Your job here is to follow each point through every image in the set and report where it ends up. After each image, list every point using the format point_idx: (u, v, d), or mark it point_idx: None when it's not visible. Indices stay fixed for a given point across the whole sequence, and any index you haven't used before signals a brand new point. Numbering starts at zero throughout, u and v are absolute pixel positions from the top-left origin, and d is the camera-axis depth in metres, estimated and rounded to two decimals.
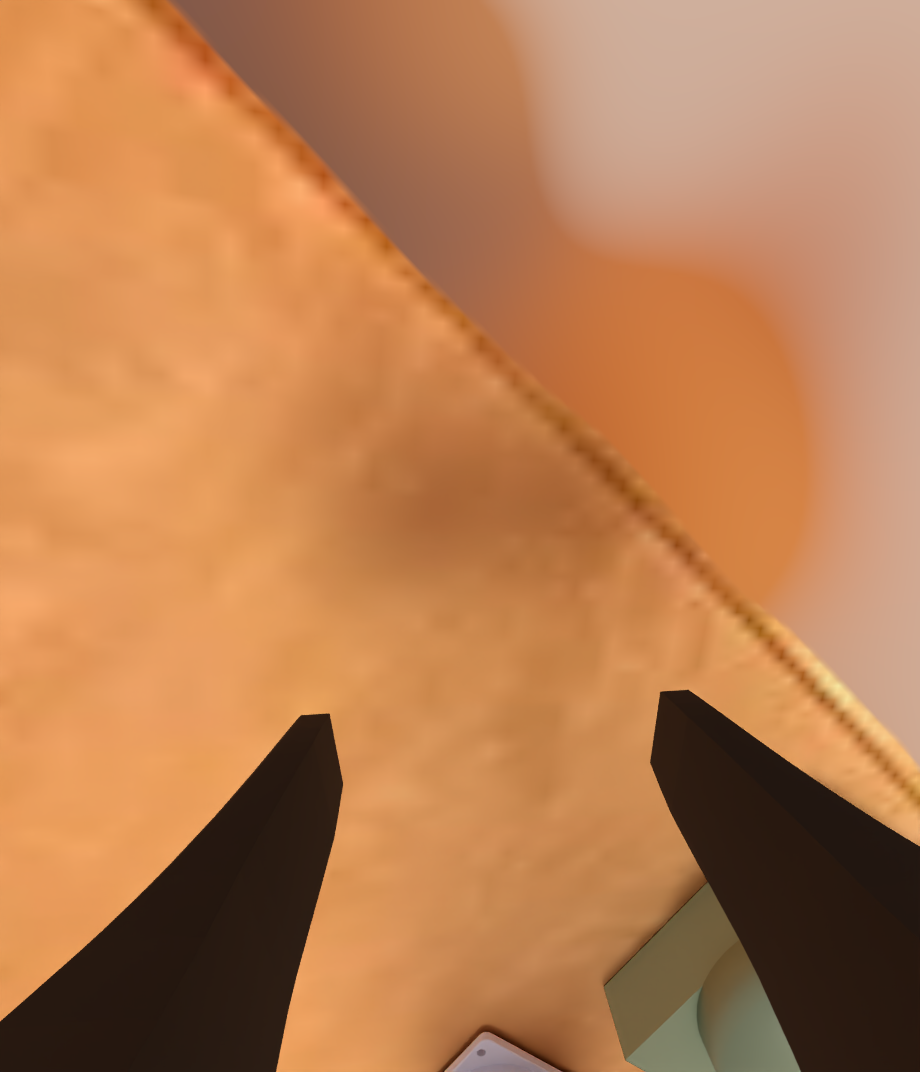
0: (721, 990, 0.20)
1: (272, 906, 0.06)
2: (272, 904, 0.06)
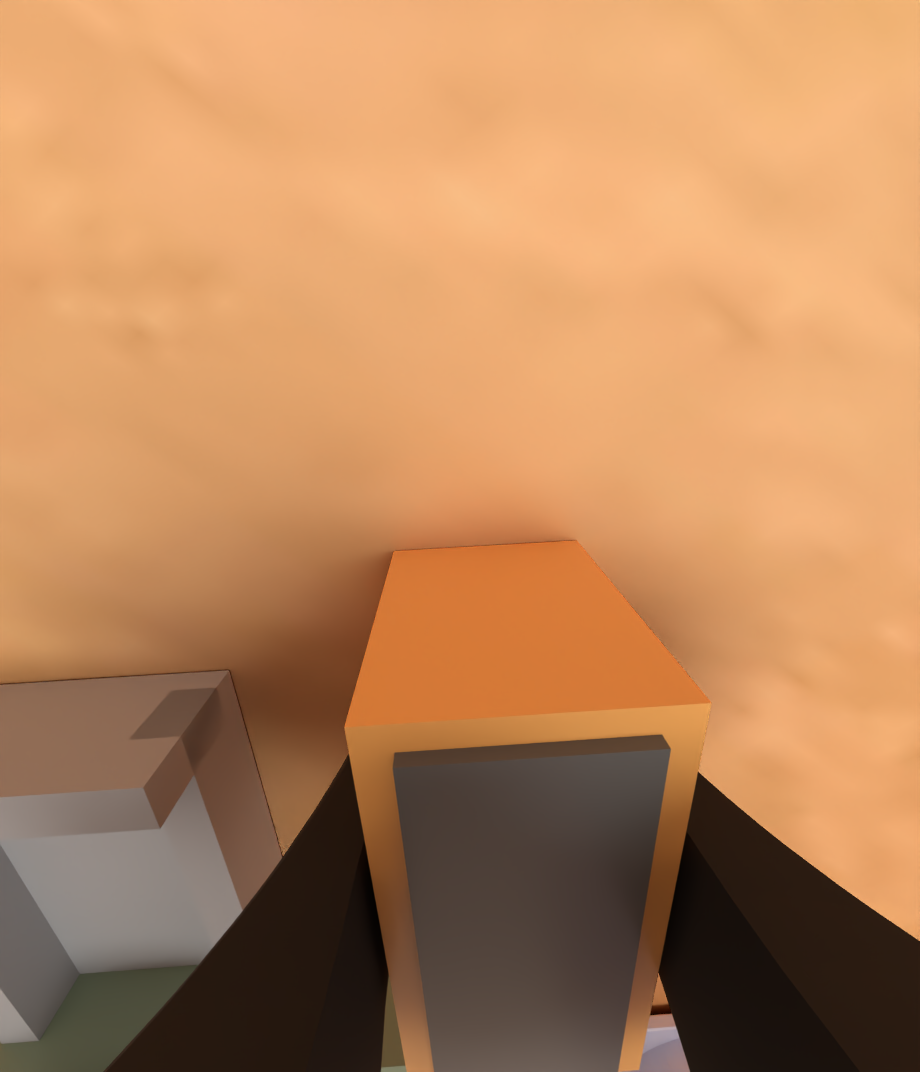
0: None
1: None
2: None
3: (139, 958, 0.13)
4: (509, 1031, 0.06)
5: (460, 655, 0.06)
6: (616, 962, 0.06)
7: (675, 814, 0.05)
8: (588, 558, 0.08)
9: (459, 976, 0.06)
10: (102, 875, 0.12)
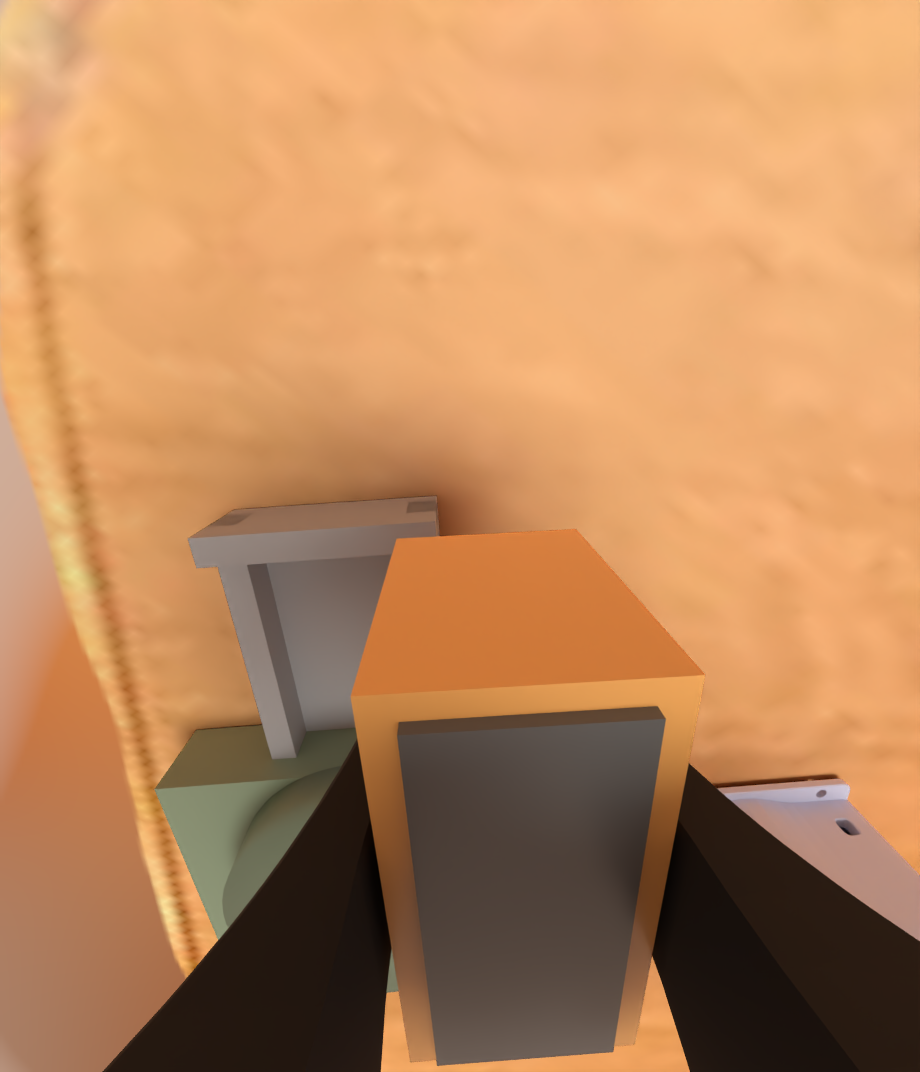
0: None
1: (375, 898, 0.06)
2: (374, 896, 0.06)
3: (348, 719, 0.19)
4: (508, 1002, 0.07)
5: (462, 633, 0.06)
6: (612, 933, 0.06)
7: (670, 786, 0.05)
8: (587, 545, 0.09)
9: (459, 946, 0.06)
10: (338, 646, 0.17)
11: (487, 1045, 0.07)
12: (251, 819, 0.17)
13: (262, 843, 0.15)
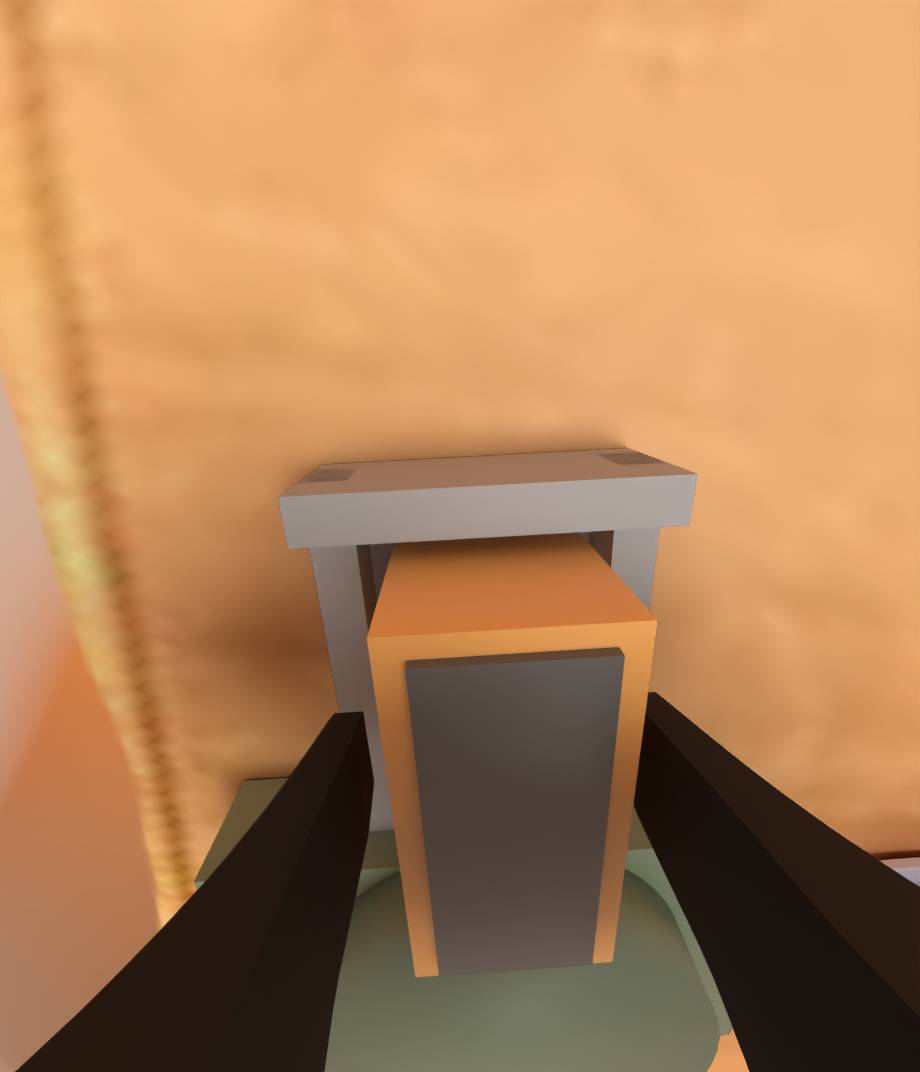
0: None
1: (320, 902, 0.06)
2: (320, 900, 0.06)
3: None
4: (500, 915, 0.08)
5: (459, 593, 0.07)
6: (588, 850, 0.07)
7: (633, 718, 0.06)
8: None
9: (458, 861, 0.07)
10: None
11: (482, 957, 0.08)
12: None
13: (370, 983, 0.10)
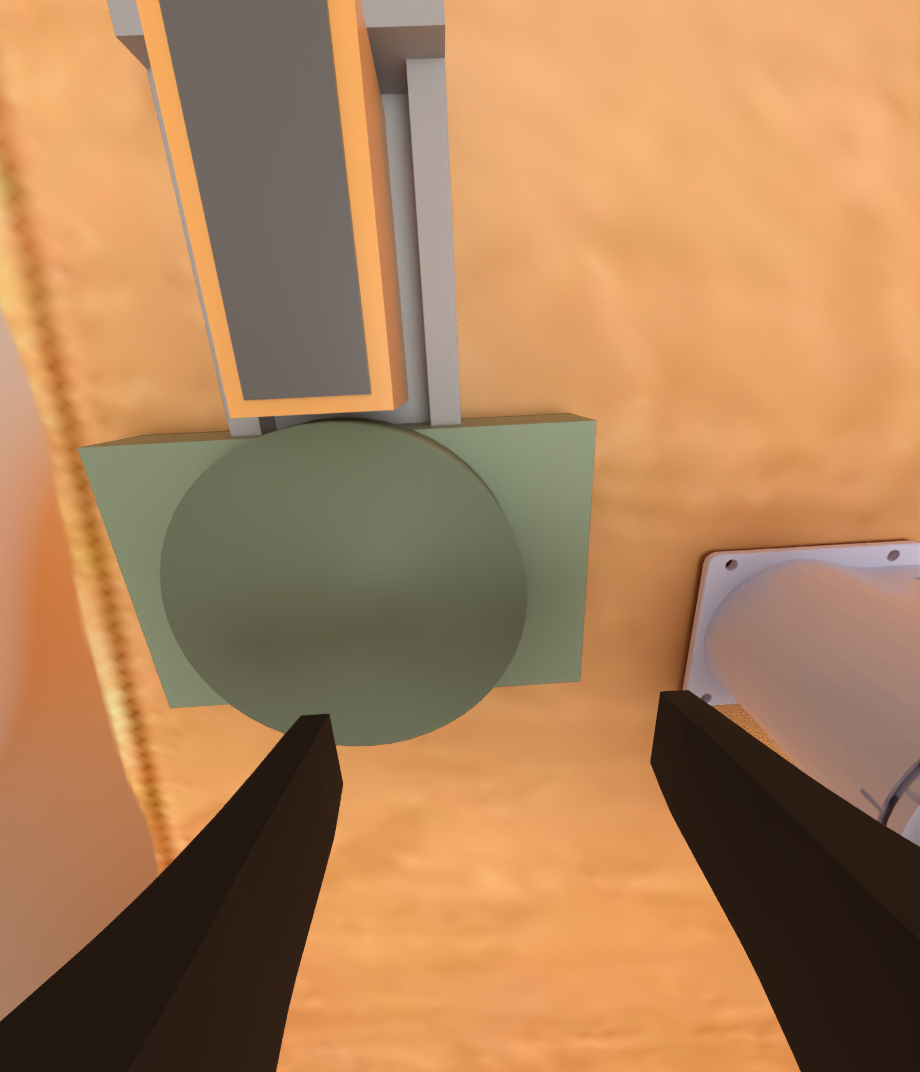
0: None
1: (272, 906, 0.06)
2: (272, 904, 0.06)
3: None
4: (281, 315, 0.10)
5: None
6: (338, 229, 0.09)
7: (353, 75, 0.08)
8: None
9: (234, 236, 0.09)
10: None
11: (275, 373, 0.10)
12: None
13: (209, 475, 0.11)
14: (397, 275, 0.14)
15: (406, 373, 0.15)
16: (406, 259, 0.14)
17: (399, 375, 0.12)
